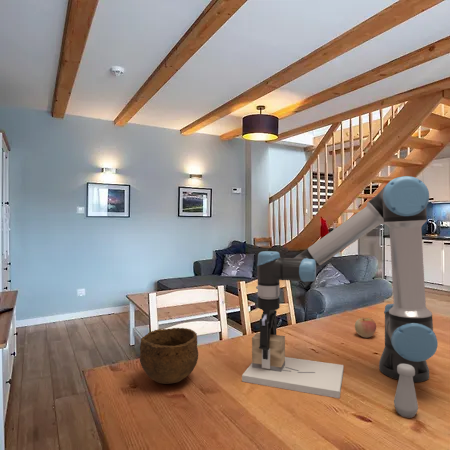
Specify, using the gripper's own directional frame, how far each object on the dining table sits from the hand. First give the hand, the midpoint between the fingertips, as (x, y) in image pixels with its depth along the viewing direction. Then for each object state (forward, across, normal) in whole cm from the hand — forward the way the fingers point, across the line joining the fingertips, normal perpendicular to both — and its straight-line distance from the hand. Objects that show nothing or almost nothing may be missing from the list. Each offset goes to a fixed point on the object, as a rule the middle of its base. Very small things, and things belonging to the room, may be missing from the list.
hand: (268, 363), depth 120 cm
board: (+3, 0, +9) cm, 9 cm away
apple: (+3, -51, +31) cm, 60 cm away
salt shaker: (+3, +12, +41) cm, 43 cm away
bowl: (+3, +18, -28) cm, 34 cm away
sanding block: (+1, 0, 0) cm, 1 cm away
